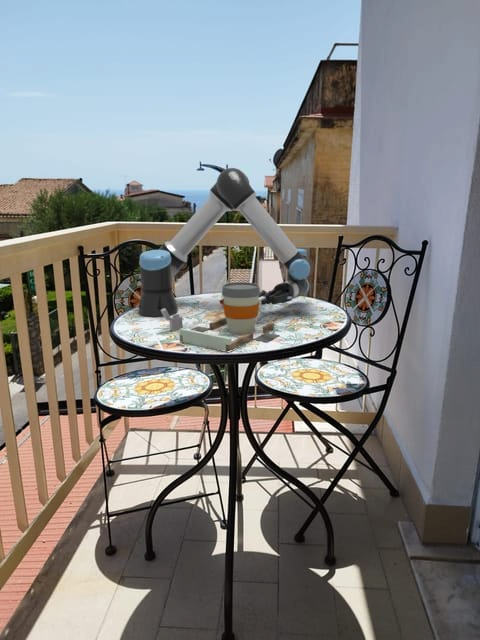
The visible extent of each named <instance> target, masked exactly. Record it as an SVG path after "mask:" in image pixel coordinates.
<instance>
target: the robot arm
mask: <svg viewBox="0 0 480 640" xmlns="http://www.w3.org/2000/svg"><path fill="white" fill-rule="evenodd" d="M256 194H257V193H256V191H255V190H254V189H253V188H252V186H251V184H250V180H249V178H248V176H247V175H246V174H245V173H244V172H243V171H242V170H240V169H239V168H235V167H229V168H225V169H224V170H222V171H221V172H220V173H219V175H218V176H217V179H216V182H215V183H214V184H213V185H212V187H211V188H210V189H209V197H208V198H207V199H206V200H205V201H204V203H202V205H201V206H200V207H199V208H198V209H197V210H196V212H194V213H193V215H192V216H191V217H190V219H189V220H187V222H186V223H185V224H184V225H183V226H182V228H181V229H180V230H179V231H178V232H177V233H176V235H175V236H174V237H173V238H172V239H171V240H169V241H164V243H163V244H162V245H161V246H160V247H159V248H158V249H152V250H147V251H144V252H142V253H141V254H140V255H139V262H138V263H139V264H138V265H139V272H140V274H139V275H140V285H141V286H140V287H141V294H140V295H141V297H140V299H139V303H138V306H137V307H138V308H137V309H138V311H137V312H138V314H139V315H140V316H143V317H150V318H151V317H157V318H158V317H164V316H163V314H162V312H161V310H162V309H163V308H165V309H166V310H167V312H168V314H169V315H170V316H173V315H174V314H178V311H179V308H178V307H179V306H178V304H177V300H176V298H175V296H174V293H173V277H175V276H176V275H177V274H179V272H180V270H181V268H182V267H183V266H185V264H186V263H187V262H188V255H189V254H190V253H191V251H192V250H193V249H195V247H196V246H197V245H198V244H199V243H200V242H201V240H202V239H203V238H204V237H205V236H206V234H208V233H209V231H210V230H212V228H213V227H214V226H215V224H217V222H219V220H220V219H221V217H223V215H224V214H225V213H226V212H232V211H233V210H234V211H235V212H236V211H237V212H240V214H241V215H242V216H243V217H244V218H245V220H246V221H247V222H248V223H249V224H250V226H251V227H252V228H253V230H254V231H255V232H256V233H257V234H258V236H259V237H260V238H261V239H262V240H263V242H264V243H265V244H266V246H268V248H269V249H270V250H271V251H272V253H273V254H274V255H275V256H276V257H277V259H278V260H279V261H280V262H281V264H282V265H283V266H284V268H286V270H287V275H286V276H287V277H286V281H283V282H280V283H277V284H276V285H275V286H274V288H273V289H272V290H268V291H267V290H265V289H263V290H261V291H260V295H259V300H258V302H259V308H260V307H262V306H265V305H270V304H271V305H273V306H274V305H277V304H285V303H287V302H291V301H292V300H294V299H296V298H299V297H302V296H304V295H306V294H307V293H308V291H309V289H310V283H309V281H308V279H307V278H308V276H309V275H310V273H311V266H310V263H309V261H308V260H307V259H308V254H307V249H304V248H297V247H296V245H295V244H294V243H293V242H292V241H291V239H289V236H287V235H286V233H285V232H284V230H282V228H281V227H280V226H279V225H278V224H277V222H276V221H275V220H274V218H273V217H272V216H271V215H270V214H269V212H268V211H267V210H266V208H265V207H264V206H263V205H262V203H261V202H260V201H259V200H258V199H257V196H256Z"/></svg>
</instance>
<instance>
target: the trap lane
mask: <svg viewBox="0 0 480 640" xmlns="http://www.w3.org/2000/svg"><path fill="white" fill-rule="evenodd" d="M225 325H227V319H226V317H225V316H223V317H221V318H218V319H216V320H213V321H211V322H209V327H202V326H195V327H192V328H190V329H189V330H193V331H198V332H204V333H206V331H207V332H208V331H209V330H211V331H213V329H214V330H215V329H218V328H221V327H223V326H225ZM274 330H275V323H274V322H269V323H267V324H265V325H263V326H262V334H260V335H259V336H257V337H255V338H254V333H253V332H250V333H245V334H244V335H243V336H241V337H237V338H236V339H233V340H232V344H231V345H226V351H230V350H233V349H235V348H237V347H239V346H241V345H243V344H245V343H247V344H248V342H249V343H250V341H251V342H252V341H255V340H256V342H260V341H262V343H266V342H268V343H269V341H270V342H271V341H273V340H274V339H277V338H278V337H280V334H276V333H272V331H274ZM270 332H271V333H270ZM179 342H181V343H184V342H183V335H180V334H179ZM245 345H246V344H245ZM243 346H244V345H243ZM241 347H242V346H241ZM239 348H240V347H239ZM237 349H238V348H237ZM235 350H236V349H235ZM233 351H234V350H233Z"/></svg>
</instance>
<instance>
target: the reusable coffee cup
mask: <svg viewBox="0 0 480 640" xmlns="http://www.w3.org/2000/svg"><path fill="white" fill-rule="evenodd" d="M260 288H261V287H260V284H258V283H254V282H244V281H243V282H242V281H240V282H230V283H229V282H227V283H225V284H223V285H222V290H221V295H222V299H223V298H224V302H223V313H224V317H226V319H227V324H226V325H227V331H228V332H229V331H230V333H233V334H238V333H239V334H240V333H241V334H244V335H245V334H248V333H253V332H254V331H255V329H256V328H255V327H256V322H257V317H258V315H259V310H260V309H259V308H260V307H259V302H258V300H259V295H260V293H261V290H260ZM241 334H240V335H241Z"/></svg>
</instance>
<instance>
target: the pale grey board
mask: <svg viewBox="0 0 480 640" xmlns="http://www.w3.org/2000/svg"><path fill="white" fill-rule="evenodd" d="M178 331H179V336H180V335H183V342H182V343H184V344H188V345H194V346H198V347H202V346H203V347H204V348H207V347H209V348H208V349H211V348H213V350H216V349H219V350H218V351H220V350H225V351H226V345H231V344H232V341H233V339H232V337H230V336H229V337H228V336H224V335H223V336H222V335H219V334H213V333H207V332H198V331H193V330H190V329H188V328H181V329H179V330H178ZM225 351H224V352H225Z"/></svg>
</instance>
